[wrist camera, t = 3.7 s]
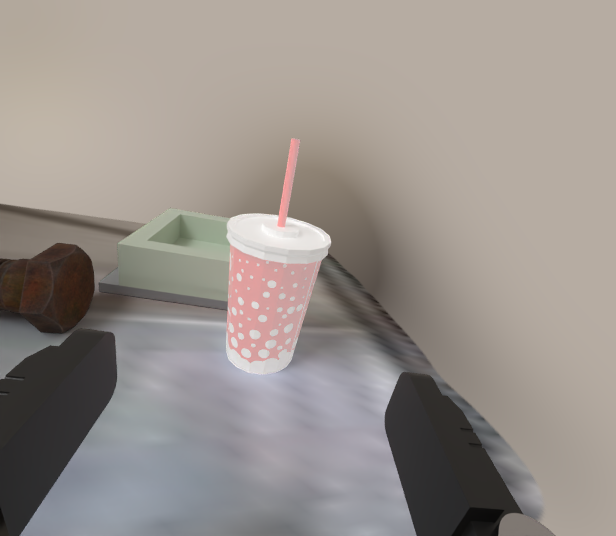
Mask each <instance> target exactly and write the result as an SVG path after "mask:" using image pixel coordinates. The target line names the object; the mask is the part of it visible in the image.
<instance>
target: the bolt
mask: <svg viewBox="0 0 616 536" xmlns="http://www.w3.org/2000/svg"><path fill="white" fill-rule="evenodd" d="M94 287H95V285H94V271H93V266H92V261H91V259H90V257H89V256H88V255H87V254H86V253H85V252H84V251H83V250H82V249H81V248H79V247H78V246H77V245H73V244H63V243H56V244H55V245H53V246H51V247H50V248H48V249H47V250H45V251H43V252H42V253H40V254H38V255H37V256H35V257H34V258H32V259H19V260H10V259H0V310H7V311H11V312H16V313H20V314H21V315H22V316H23V317H24V318H25V319H27V320H28V321H29V322H30V323H31V324H32V325H33V326H35V327H36V328H37V329H38V330H39V331H40V332H47V333H64V332H66V331H68V330H69V329H71V328H73V327H74V326H75V325H76V324H77V323H78V322H79V321H80V320H81V319H82V318H83V317H84V316H85V314H86V312H87V310H88V308H89V306H90V303H91V300H92V297H93V294H94Z"/></svg>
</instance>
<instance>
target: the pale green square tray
mask: <svg viewBox="0 0 616 536" xmlns="http://www.w3.org/2000/svg"><path fill="white" fill-rule="evenodd" d="M229 220H230V218H224V217H219V216H213V215H207V214H201V213H196V212H191V211H185V210H179V209H174V208H169V209H168V210H166V211H165V212H164V213H162V214H161V215H159V216H158V217H156V218H155V219H153V220H152V221H150V222H149V223H147V224H146V225H144V226H143V227H141V228H140V229H138V230H137V231H135V232H134V233H132V234H131V235H129V236H128V237H126V238H125V239H123V240H122V241H120V242H119V243H117V250H118V267H117V268H116V269H115V270H113V271H112V272H111V273H110V274H108V275H107V276H106V277H105V278H103V279H102V280H101V281H100V282H99V291H100V292H107V293H114V294H121V295H127V296H134V297H141V298H148V299H155V300H162V301H169V302H176V303H182V304H189V305H196V306H203V307H210V308H217V309H224V310H228V288H229V263H230V243H229V241H228V239H227V237H226V236H227V233H228V230H227V223H228V221H229Z"/></svg>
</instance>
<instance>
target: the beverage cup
mask: <svg viewBox="0 0 616 536" xmlns="http://www.w3.org/2000/svg"><path fill="white" fill-rule="evenodd" d="M299 145H300V140H298V139H293V138H292V139H291V145H290V151H289V158H288V163H287V170H286V176H285V181H284V188H283V194H282V200H281V206H280V212H279V216H277V215H270V214H269V215H268V214H242V215H238V216H235V217H232V218H231V219H230V220H229V221H228V223H227V230H228V233H227V236H226V237H227V239H228V241H229V243H230V263H229V288H228V313H227V337H226V352H227V356H228V359H229V360H230V361H231V362H232V363H233V364H234V365H235V366H236V367H237V368H239V369H241V370H243V371H246V372H248V373H253V374H260V375H265V374H271V373H277V372H278V371H280V370H282V369H284V368H286V367H287V365H288V364H289V363H290V361H291V360H292V356H293V353H294V350H295V346H296V343H297V340H298V337H299V333H300V330H301V327H302V323H303V320H304V317H305V313H306V310H307V307H308V304H309V300H310V297H311V294H312V290H313V287H314V284H315V281H316V277H317V274H318V271H319V267H320V264H321V261H322V259H323V258H324V257H326V256H327V255H328V248H329V247H330V245H331V240H330V236H329V235H328V234H327V233H325V232H324V231H323V230H322V229H320V228H318V227H315V226H313V225H311V224H309V223H306V222H303V221H300V220H296V219H293V218H288V217H287V213H288V207H289V202H290V196H291V190H292V185H293V179H294V173H295V168H296V162H297V156H298V150H299Z"/></svg>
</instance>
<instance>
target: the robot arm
mask: <svg viewBox="0 0 616 536" xmlns="http://www.w3.org/2000/svg"><path fill="white" fill-rule="evenodd" d="M116 382H117V365H116V347H115V336H114V334H113V333H111V332H105V331H98V330H90V329H82V328H80V329H78V330H76V331H75V332H73V333H72V334H71V335H70V336H69V337H68V338H67V339H66V340H65V341H64V342H63V343H62V344H61V345H60V346H59V347H58V346H49V347H47V348H45V349H43V350H41V351H39V352H37V353H35V354H33V355H31V356H29V357H27V358H25V359H24V360H23V361H22V362H21V363H19V364H18V365H17V366H16V367H15V368H14V369H13V370H11V371H10V372H9V373H8V374H7V375H6V377H5V379H1V380H0V536H19V535H20V534H21V532H22V531H23V529H24V528H25V527H26V525H27V524H28V522H29V521H30V519H31V518H32V516H33V515H34V513H35V512H36V510H37V509H38V507H39V506H40V504H41V503H42V501H43V500H44V498H45V497H46V495H47V494H48V492H49V491H50V489H51V488H52V486H53V485H54V483H55V482H56V480H57V479H58V477H59V476H60V474H61V473H62V471H63V470H64V468H65V467H66V465H67V464H68V462H69V461H70V459H71V458H72V456H73V455H74V453H75V452H76V450H77V449H78V447H79V446H80V444H81V443H82V441H83V440H84V438H85V437H86V435H87V434H88V432H89V431H90V429H91V428H92V426H93V425H94V423H95V422H96V420H97V419H98V417H99V416H100V414H101V413H102V412H103V410H104V409H105V407H106V406H107V404H108V403H109V401H110V399H111V397H112V395H113V393H114V390H115V387H116ZM385 430H386V434H387V437H388V441H389V444H390V447H391V451H392V454H393V457H394V461H395V464H396V467H397V471H398V474H399V478H400V481H401V484H402V488H403V491H404V494H405V498H406V501H407V504H408V508H409V511H410V514H411V518H412V521H413V524H414V528H415V531H416V534H417V536H555V535H554V534H553V533H552V532H551V531H550V530H549V529H548V528H546V527H545V526H544V525H542V524H541V523H539V522H538V521H536V520H534V519H533V518H531V517H528V516H526V515H523V513H522V512H521V510H520V508H519V507H518V505H517V503H516V502H515V500H514V498H513V496H512V495H511V493H510V491H509V490H508V488H507V486H506V485H505V483H504V481H503V479H502V478H501V476H500V474H499V473H498V471H497V469H496V468H495V466H494V464H493V462H492V461H491V459H490V457H489V456H488V454H487V452H486V451H485V449H484V448H482V444H481V442H480V440H479V439H478V437H477V435H476V434H475V433H473V428H472V427H471V425H470V423H469V422H468V420H467V418H466V417H465V415H464V413H463V412H462V411H461V409H460V408H459V407H458V406H457V405H456V404H455V403H454V402H453V401H452V400H451V399H450V398H449V397H448V396H443V395H442V394H441V392H440V390H439V389H438V387H437V385H436V383H435V381H434V380H433V378H432V377H431V376H430V375H424V374H417V373H409V372H403V373H402V374H401V375H400V377H399V379H398V381H397V384H396V386H395V389H394V391H393V394H392V396H391V399H390V401H389V404H388V406H387V409H386V413H385Z"/></svg>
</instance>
